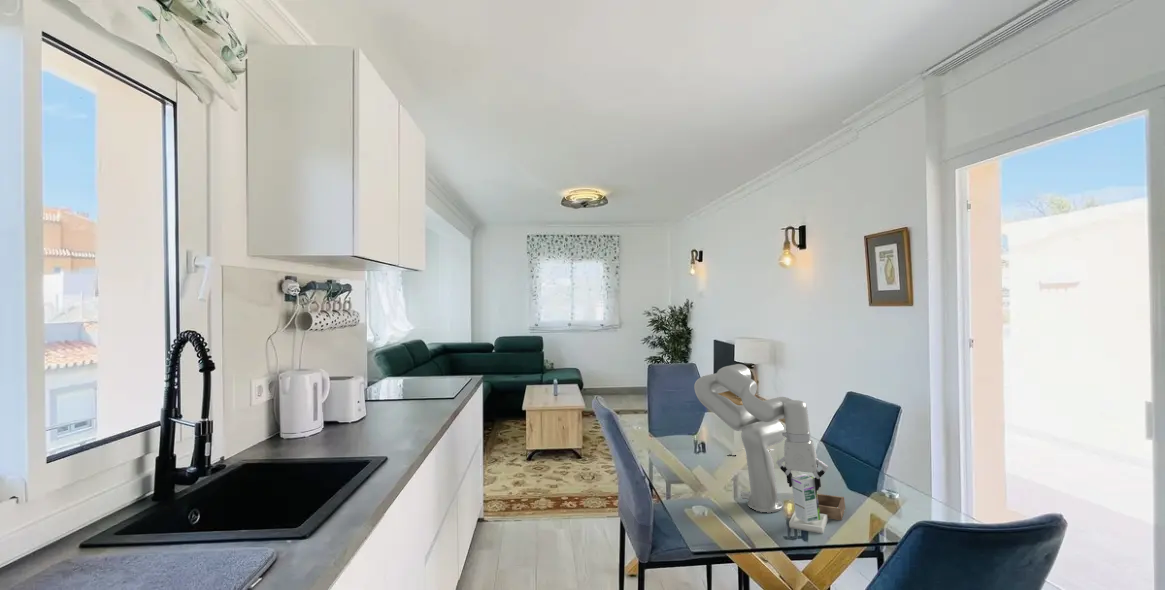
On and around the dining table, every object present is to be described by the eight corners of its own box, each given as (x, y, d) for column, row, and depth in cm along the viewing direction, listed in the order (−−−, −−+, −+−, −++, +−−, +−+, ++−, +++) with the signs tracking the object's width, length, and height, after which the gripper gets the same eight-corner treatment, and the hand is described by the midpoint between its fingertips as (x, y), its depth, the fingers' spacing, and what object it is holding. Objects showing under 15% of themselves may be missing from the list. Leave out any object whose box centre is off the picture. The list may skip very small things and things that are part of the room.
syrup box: (807, 524, 162) (802, 481, 162) (794, 516, 168) (790, 475, 168) (820, 520, 163) (816, 478, 164) (808, 513, 169) (804, 472, 169)
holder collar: (808, 515, 172) (807, 504, 172) (813, 503, 180) (812, 493, 180) (841, 520, 165) (840, 508, 165) (845, 508, 174) (844, 497, 174)
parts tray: (789, 528, 164) (789, 522, 164) (796, 515, 173) (795, 509, 173) (822, 533, 158) (822, 527, 158) (827, 520, 167) (827, 514, 167)
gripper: (769, 438, 168) (775, 487, 168) (824, 442, 158) (830, 495, 158) (775, 432, 174) (780, 480, 174) (827, 435, 164) (833, 486, 164)
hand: (804, 487), depth 166 cm, fingers closed on syrup box, 8 cm apart
